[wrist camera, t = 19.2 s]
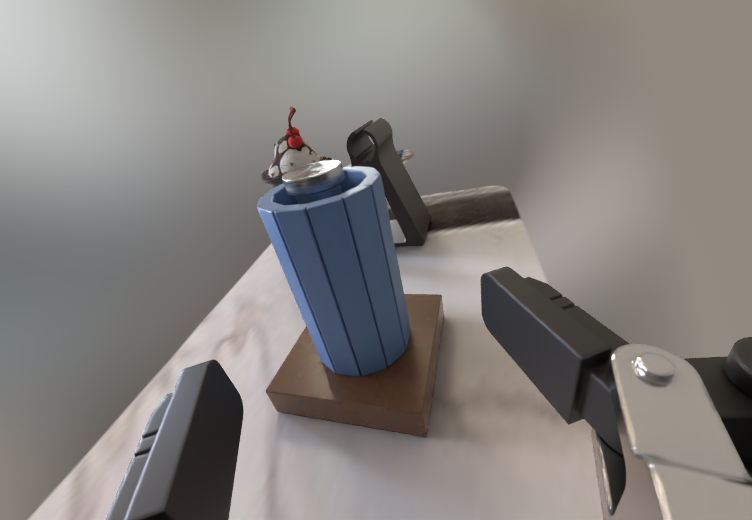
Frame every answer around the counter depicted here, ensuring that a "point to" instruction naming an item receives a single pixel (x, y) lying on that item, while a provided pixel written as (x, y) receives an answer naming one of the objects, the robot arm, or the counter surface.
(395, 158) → the phone stand
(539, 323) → the robot arm
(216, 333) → the counter surface
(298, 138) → the sundae
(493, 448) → the counter surface
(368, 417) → the wooden base post
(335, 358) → the blue sleeve
